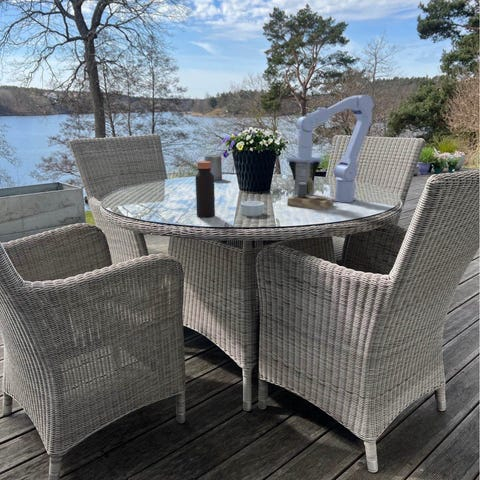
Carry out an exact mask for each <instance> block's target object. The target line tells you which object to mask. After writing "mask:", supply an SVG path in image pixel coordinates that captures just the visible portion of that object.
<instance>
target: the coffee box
mask: <svg viewBox="0 0 480 480" xmlns="http://www.w3.org/2000/svg"><path fill="white" fill-rule="evenodd" d="M300 161H302V160H300ZM312 175H313V163H302V162H296V180H294V187H293V188H294V190H293V191H294V193H293V194H294V195H293V196H296V195H298V184H299V182H305V183H306V184H307V189H306V195H307V196H314V192H315V180H314V181H312Z"/></svg>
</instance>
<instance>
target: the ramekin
mask: <svg viewBox="0 0 480 480" xmlns="http://www.w3.org/2000/svg"><path fill="white" fill-rule="evenodd" d="M264 205H265V203H264V202H263V201H259V200H246V201H241V202H240V206H241V208H240V209H241V214H242V215H243V216H246V217H258V216H262V215H263V213H264Z"/></svg>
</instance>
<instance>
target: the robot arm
mask: <svg viewBox="0 0 480 480" xmlns="http://www.w3.org/2000/svg"><path fill="white" fill-rule="evenodd" d="M374 105H375V104H374V100H373V99H372V97H371V95H369V94H361V95H360V94H359V95H355V94H354V95H351V96H348V97H346V98H344V99H342V100H340V101H338V102H336V103H334V104H333V105H330V107H327V108H326V107H321V106H319V107H317V108H316V110H314V111H313V112H308V113H307V114H306V116H305V115H304V116H300V117H299V118H298V119H297V121H296V123H295V127H296V129H297V130H298V134H297V135H298V136H297V156H294V157H293V156H292V157H286V163H288V165H289V168H290V170H291V173H292V178H293V181H295V180H296V162H302V163H313V175H312V181H314V182H315V176H316V173H317V170H318V168H319V166H320V164H322V163H323V157H313V156H312V155H313V154H312V153H313V152H312V151H313V131H314V130H315V128H316V127H318V126H320V125H322V124H324V123H326V122H328V121H330V118H331V116H334V115H335V114H338V113H340V112H343V111H345V110H349V112H351V113H352V114H353V115H354V116H355V118H356V120H357V122H356V123H355V125H354V128H353V132H352V134H351V138H350V139H349V143H348V144H347V148H346V150H345V153H344V155H343V157H341V159H339V160H338V163H337V164H336V165H335V167H334V170H333V174H334V176H335V193H334V194H335V195H334V197H335V198H333V202H340V203H348V204H349V203H351V202H354V201H356V200H357V197H355V196H356V195H355V194H356V183H355V179H356V178H357V175H358V168H359V163H358V161H357V160H358V157H359V154H360V152H361V149H362V147H363V145H364V141H365V139H366V136H367V134H368V131H369V128H370V125H371V123H372V122H373V121H372V119H373V107H374ZM300 160H302V161H300Z"/></svg>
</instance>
